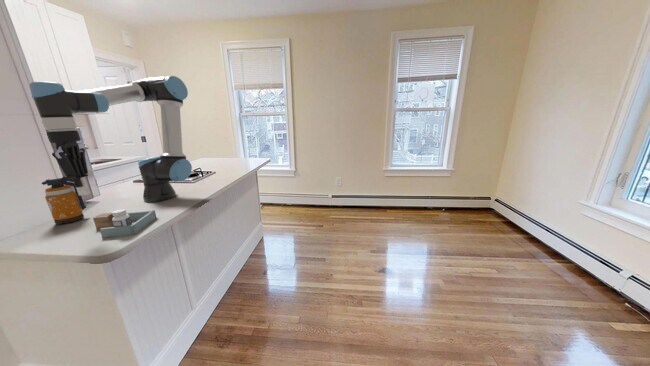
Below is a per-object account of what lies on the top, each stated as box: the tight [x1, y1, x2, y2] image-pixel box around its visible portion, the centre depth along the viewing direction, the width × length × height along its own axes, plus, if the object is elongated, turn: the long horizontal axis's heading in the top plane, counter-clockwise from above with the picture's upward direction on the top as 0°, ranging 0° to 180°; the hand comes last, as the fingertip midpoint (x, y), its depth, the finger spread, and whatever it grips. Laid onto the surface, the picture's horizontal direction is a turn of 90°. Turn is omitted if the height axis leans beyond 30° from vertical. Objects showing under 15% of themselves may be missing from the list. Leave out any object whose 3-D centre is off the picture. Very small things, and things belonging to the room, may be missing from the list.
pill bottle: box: [112, 208, 133, 227], centre depth 90 cm, size 5×5×9 cm
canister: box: [41, 176, 88, 225], centre depth 102 cm, size 9×11×20 cm
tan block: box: [92, 211, 114, 230], centre depth 97 cm, size 5×5×5 cm
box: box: [99, 209, 157, 239], centre depth 95 cm, size 16×11×4 cm
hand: (84, 194), depth 87 cm, fingers closed
